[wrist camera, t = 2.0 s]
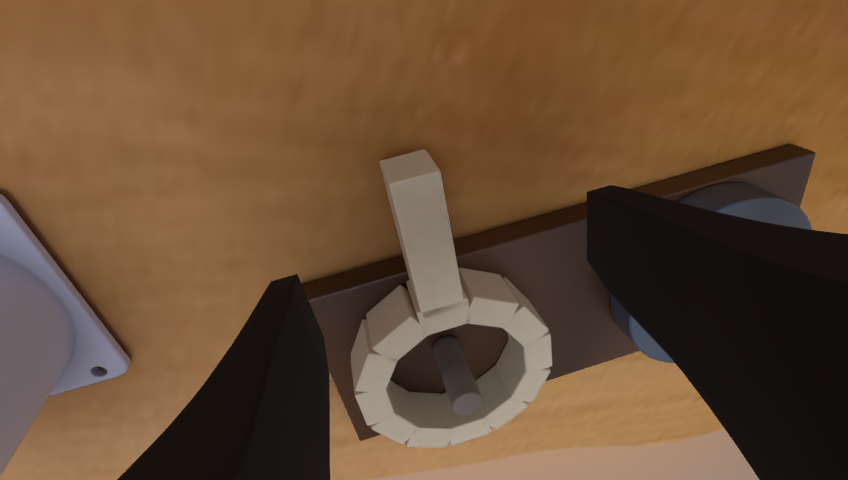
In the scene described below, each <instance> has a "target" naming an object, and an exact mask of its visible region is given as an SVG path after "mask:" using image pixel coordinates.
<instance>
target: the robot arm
mask: <svg viewBox="0 0 848 480" xmlns="http://www.w3.org/2000/svg"><path fill="white" fill-rule="evenodd" d="M587 261H588V262H589V264H590V265H591V267H592V268H593V270H594V272H595V273H596V275H597V276H598V277H599V279H600V280H601V282H602V283H603V284H604V286H605V287H606V289H607V290H608V291H609V292H610V293H611V294H612V296H613V297H614V298H615V299H616V300H617V301H618V302H619V303H620V304H621V305H622V306H623V308H624V309H625V310H626V311H627V312H628V313H629V314H630V315H631V316H632V317H633V318H634V319H635V320H636V321H637V322H638V324H639V325H640V326H641V327H642V328H643V329H644V330H645V331H646V332H647V333H648V334H649V335H650V336H651V337H652V338H653V339H654V341H655V342H656V343H657V344H658V345H659V346H660V347H661V348H662V349H663V350H664V351H665V352H666V353H667V354H668V355H669V357H670V358H671V359H672V360H673V361H674V362H675V363H676V365H677V366H678V367H679V368H680V369H681V370H682V372H683V373H684V374H685V376H686V377H687V378H688V380H689V381H690V382H691V383H692V385H693V386H694V387H695V389H696V390H697V391H698V393H699V394H700V395H701V397H702V398H703V399H704V401H705V402H706V403H707V405H708V406H709V407H710V409H711V410H712V411H713V413H714V414H715V416H716V417H717V418H718V420H719V421H720V423H721V424H722V425H723V427H724V428H725V430H726V431H727V432H728V434H729V435H730V437H731V438H732V439H733V441H734V442H735V444H736V445H737V446H738V448H739V449H740V451H741V453H742V454H743V455H744V457H745V458H746V460H747V461H748V463H749V464H750V466H751V467H752V469H753V470H754V472H755V473H756V475H757V476H758V478H759V479H760V480H848V234H839V233H831V232H823V231H815V230H808V229H802V228H796V227H789V226H783V225H777V224H771V223H766V222H761V221H755V220H751V219H746V218H742V217H737V216H732V215H728V214H723V213H719V212H715V211H711V210H707V209H703V208H699V207H695V206H691V205H687V204H684V203H680V202H676V201H673V200H669V199H665V198H661V197H658V196H654V195H650V194H647V193H643V192H639V191H635V190H631V189H627V188H622V187H617V186H606V187H603V188H599V189H596V190H592V191H589V192H587ZM129 365H130V359H129V357H128V356H127V354H126V353H125V352H124V351H123V349H122V348H121V347H120V345H119V344H118V343H117V341H116V340H115V339H114V338H113V336H112V335H111V334H110V332H109V331H108V330H107V328H106V327H105V326H104V325H103V323H102V322H101V321H100V319H99V318H98V317H97V315H96V314H95V313H94V312H93V310H92V309H91V308H90V306H89V305H88V304H87V302H86V301H85V300H84V299H83V297H82V296H81V295H80V293H79V292H78V291H77V289H76V288H75V287H74V286H73V284H72V283H71V282H70V280H69V279H68V278H67V276H66V275H65V274H64V273H63V271H62V270H61V269H60V267H59V266H58V265H57V263H56V262H55V261H54V260H53V258H52V257H51V256H50V254H49V253H48V252H47V250H46V249H45V248H44V247H43V245H42V244H41V243H40V241H39V240H38V239H37V237H36V236H35V235H34V234H33V232H32V231H31V230H30V228H29V227H28V226H27V224H26V223H25V222H24V221H23V219H22V218H21V217H20V215H19V214H18V213H17V211H16V210H15V209H14V208H13V206H12V205H11V204H10V202H9V201H8V200H7V199H6V198H5V197H4V196H3V195H2V194H0V476H1V475H2V473H3V471H4V470H5V468H6V466H7V465H8V463H9V461H10V460H11V458H12V456H13V455H14V453H15V451H16V450H17V448H18V446H19V445H20V443H21V441H22V440H23V438H24V436H25V435H26V433H27V431H28V430H29V428H30V426H31V425H32V423H33V421H34V420H35V418H36V416H37V415H38V413H39V411H40V410H41V408H42V406H43V405H44V403H45V401H46V400H47V398H48V397H50V396H53V395H56V394H60V393H63V392H66V391H70V390H73V389H77V388H80V387H83V386H87V385H90V384H93V383H97V382H100V381H104V380H107V379H110V378H114V377H117V376H120V375H122V374H125V372H126V371H127V370H128V368H129ZM97 367H103V368H105V369H99V368H97ZM117 480H330V403H329V369H328V361H327V354H326V347H325V340H324V336H323V334H322V331H321V329H320V327H319V324H318V322H317V320H316V317H315V315H314V312H313V310H312V308H311V305H310V303H309V301H308V298H307V296H306V294H305V291H304V289H303V286H302V284H301V282H300V279H299V277H298V275H297V274H296V275H292V276H289V277H285V278H282V279H278V280H275V281H271V283H270V284H269V286H268V287H267V289H266V291H265V292H264V294H263V296H262V297H261V299H260V300H259V302H258V304H257V305H256V307H255V309H254V310H253V312H252V314H251V315H250V317H249V319H248V320H247V322H246V324H245V325H244V327H243V328H242V330H241V332H240V333H239V335H238V336H237V338H236V339H235V341H234V343H233V344H232V346H231V347H230V348H229V350H228V351H227V353H226V354H225V355H224V357H223V358H222V360H221V361H220V363H219V364H218V365H217V367H216V368H215V370H214V371H213V372H212V374H211V375H210V377H209V378H208V379H207V381H206V382H205V383H204V385H203V386H202V387H201V389H200V390H199V391H198V392H197V394H196V395H195V396H194V397H193V399H192V400H191V401H190V402H189V403H188V405H187V406H186V407H185V408H184V409H183V410H182V412H181V413H180V414H179V415H178V416H177V417H176V419H175V420H174V421H173V422H172V423H171V424H170V426H169V427H168V428H167V429H166V430H165V431H164V432H163V433H162V434H161V435H160V436H159V437H158V438H157V439H156V440H155V441H154V442H153V444H152V445H151V446H150V447H149V448H148V449H147V450H146V451H145V452H144V453H143V454H142V455H141V456H140V457H139V458H138V459H137V460H136V461H135V462H134V463H133V464H132V465H131V466H130V467H129V468H128V469H127V470H126V472H125V473H123V474H122V475H121V476H120V477H119V478H118V479H117Z"/></svg>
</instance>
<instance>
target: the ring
mask: <svg viewBox="0 0 848 480" xmlns="http://www.w3.org/2000/svg"><path fill="white" fill-rule="evenodd" d="M379 164H380V168H381V172H382V176H383V180H384V183H385V187H386V191H387V195H388V199H389V203H390V207H391V210H392V214H393V218H394V222H395V226H396V230H397V234H398V238H399V241H400V245H401V249H402V253H403V257H404V261H405V265H406V268H407V272H408V276H409V281H407V282H406V284H407V288H408V290H407V289H406V288H404V287H403V286H402V285H399V286H398V287H397V288H395V289H394V290H393V291H392V292H391V293H390V294H389V295H387V296H386V297H385V298H384V299H383V300H382V301H380V302H379V303H378V304H377V305H376V306H375V307H374V308H372V309H371V310H370V311H369V312H368V313H367V314H366V319H367V320H366V319H363V320H362V322H361V325H360V328H359V331H358V334H357V337H356V339H355V342H354V345H353V348H352V351H351V368H352V376H353V384H354V393H355V397H356V400H357V402H358V405H359V407H360V410H361V412H362V414H363V417H364V419H365V422H366V424H367V425H368V426H369V425H371V429H372V430H374V431H376V432H378V433H380V434H382V435H383V436H385V437H387V438H389V439H391V440H393V441H395V442H397V443H399V444H403V443H404V442H405V443H406V446H407V447H446V446H447V444H448V442H449V441H450V444H451V445H452V446H453V445H456V444H459V443H462V442H466V441H469V440H472V439H475V438H478V437H481V436H484V435H487V434H490V433H491V428H490V426H491V427H492V428H494V429H495V430H497V429H499V428H500V427H501V426H503V425H504V424H505V423H507V422H508V421H509V420H511V419H512V418H513V417H515V416H516V415H517V414H519V413H520V412H521V411H523V410H524V409H525V408H527V407H528V403H527V402H532V401H533V400H534V399H535V397H536V395H537V394H538V392H539V390H540V389H541V387H542V385H543V384H544V382H545V380H546V379H547V377H548V375H549V373H550V369H549V367H551V366H552V350H551V334H550V333H549V329H548V327H547V326H546V324H545V323H544V321H543V320H542V319H541V317H540V316H539V314H538V313H537V311H536V310H535V308H534V307H533V305H532V304H531V303H530V301H529V300H528V299H527V298H526V297H525V296H524V295H523V294H522V293H521V292H520V291H519V290H518V289H517V288H516V287H515V286H514V285H513V284H512V283H511V282H510V281H509V280H508V279H507V278H506V277H503V278H502V277H501V276H500V275H499V274H494V273H488V272H483V271H477V270H471V269H465V268H458V265H457V259H456V254H455V248H454V243H453V237H452V232H451V226H450V221H449V215H448V210H447V204H446V199H445V194H444V188H443V183H442V177H441V172H440V170H439V168H438V167H437V166H436V164H435V163H434V161H433V160H432V158H431V157H430V155H429V154H428V152H427V151H426V150H425V149H423V150H419V151H415V152H411V153H408V154H404V155H400V156H396V157H393V158H389V159H385V160H381V161H379ZM467 323H468V324H476V325H484V326H492V327H500V328H503V329H504V330H505V331H506V332H508V342H507V344H506V346H505V348H504V350H503V351H502V353H501V355H500V357H499V359H498V361H497V363H496V365H495V366H493V367H492V368H491V369H490V370H488V371H487V372H486V373H484V374H483V375H482V376H481V377H479V378H478V379H477V380H475V382H476V384H477V386H478V389H479V391H480V394H481V396H482V404H481V406H480V408H479V409H478V410H476V411H475V412H473V413H471V414H468V415H459V414H457V413H455V412H454V411H453V409H452V406H451V403H450V400H449V398H448V395H447V392H444V393H441V394H438V393H423V392H409V391H407V390H405V389H404V388H402V387H401V386H399V385H397V384H396V383H394V382H393V381H391V380H390V378H391V376H392V373H393V371H394V368H395V366H396V363H397V361H398V360H399V359H400V358H401V357H403V356H404V355H405V354H406V353H407V352H409V351H410V350H411V349H412V348H413V347H415V346H416V345H417V344H418V343H419V342H421V341H422V340H423V339H424V338H425V337H427V336H428V335H431V334H434V333H438V332H441V331H444V330H447V329H451V328H454V327H457V326H460V325H464V324H467Z"/></svg>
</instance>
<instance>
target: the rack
mask: <svg viewBox="0 0 848 480" xmlns="http://www.w3.org/2000/svg"><path fill="white" fill-rule="evenodd" d="M814 157H815V152H813V151H810V150H807V149H805V148H802V147H799V146H796V145H793V144H789V145H785V146H782V147H778V148H775V149H771V150H768V151H764V152H761V153H757V154H754V155H750V156H747V157H743V158H740V159H737V160H733V161H730V162H726V163H723V164H719V165H716V166H712V167H709V168H705V169H702V170H698V171H695V172H691V173H688V174H684V175H681V176H677V177H674V178H671V179H667V180H664V181H660V182H657V183H653V184H650V185H646V186H643V187H639V188H636V189H632V190H635V191H639V192H643V193H647V194H650V195H654V196H658V197H661V198H665V199H669V200H673V201H676V202H680V203H684V204H687V205H691V206H695V207H699V208H703V209H707V210H711V211H715V212H719V213H723V214H728V215H732V216H737V217H742V218H746V219H751V220H755V221H761V222H766V223H771V224H777V225H783V226H789V227H796V228H802V229H808V230H812V228H811V224H810V222H809V220H808V218H807V216H806V214H805V213H804V212H803V211H802V210H801V208H800V205H801V201H802V198H803V194H804V191H805V188H806V184H807V181H808V177H809V174H810V171H811V167H812V164H813V160H814ZM453 243H454V248H455V254H456V259H457V265H458V268H465V269H471V270H477V271H483V272H488V273H494V274H499V275H500V276H501V277H502V278H503V277H506V278H507V279H508V280H509V281H510V282H511V283H512V284H513V285H514V286H515V287H516V288H517V289H518V290H519V291H520V292H521V293H522V294H523V295H524V296H525V297H526V298H527V299H528V300H529V301H530V303H531V304H532V305H533V307H534V308H535V310H536V311H537V313H538V314H539V316H540V317H541V319H542V320H543V321H544V323H545V324H546V326H547V327H548V329H549V333H550V334H551V350H552V366H551V367H549V369H550V373H549V375H548V377H547V379H546V380H545V381H548V380H551V379H554V378H557V377H560V376H563V375H566V374H569V373H572V372H575V371H578V370H581V369H585V368H588V367H591V366H594V365H597V364H600V363H603V362H606V361H609V360H612V359H615V358H618V357H622V356H625V355H628V354H631V353H634V352H637V351H641V352H642V353H643V354H645V355H647V356H648V357H650V358H653V359H655V360H658V361H662V362H668V363H675V362H674V361H673V360H672V359H671V358H670V357H669V355H668V354H667V353H666V352H665V351H664V350H663V349H662V348H661V347H660V346H659V345H658V344H657V343H656V342H655V341H654V339H653V338H652V337H651V336H650V335H649V334H648V333H647V332H646V331H645V330H644V329H643V328H642V327H641V326H640V325H639V324H638V322H637V321H636V320H635V319H634V318H633V317H632V316H631V315H630V314H629V313H628V312H627V311H626V310H625V309H624V308H623V306H622V305H621V304H620V303H619V302H618V301H617V300H616V299H615V298H614V297H613V296H612V294H611V293H610V292H609V291H608V290H607V289H606V287H605V286H604V284H603V283H602V282H601V280H600V279H599V277H598V276H597V275H596V273H595V272H594V270H593V268H592V267H591V265H590V264H589V262H588V261H587V203H584V204H580V205H577V206H573V207H570V208H566V209H563V210H559V211H556V212H552V213H549V214H545V215H542V216H539V217H535V218H532V219H528V220H525V221H521V222H518V223H514V224H511V225H507V226H504V227H500V228H497V229H493V230H490V231H486V232H483V233H479V234H476V235H473V236H469V237H466V238H462V239H459V240H455V241H453ZM407 281H409V276H408V272H407V268H406V265H405V261H404V257H403V256H400V257H396V258H393V259H389V260H386V261H382V262H379V263H375V264H372V265H368V266H365V267H361V268H358V269H354V270H351V271H347V272H344V273H341V274H337V275H334V276H330V277H327V278H323V279H320V280H316V281H313V282H309V283H306V284H302V286H303V289H304V291H305V294H306V296H307V298H308V301H309V303H310V305H311V308H312V310H313V312H314V315H315V317H316V320H317V322H318V324H319V327H320V329H321V331H322V334H323V336H324V340H325V347H326V354H327V361H328V369H329V371H330V374H331V376H332V378H333V380H334V383H335V385H336V387H337V389H338V392H339V394H340V396H341V399H342V401H343V403H344V405H345V408H346V410H347V412H348V415H349V417H350V419H351V421H352V424H353V426H354V428H355V431H356V433H357V435H358V437H359V440H360V441H362V440H365V439H369V438H372V437H375V436H378V435H381V434H380V433H378V432H376V431H374V430H372V429H371V425H369V426H368V425H367V424H366V422H365V419H364V417H363V414H362V412H361V410H360V407H359V405H358V402H357V400H356V397H355V393H354V384H353V376H352V368H351V351H352V348H353V345H354V342H355V339H356V337H357V334H358V331H359V328H360V325H361V322H362V320H363V319H366V314H367V313H368V312H369V311H370V310H371V309H372V308H374V307H375V306H376V305H377V304H378V303H379V302H380V301H382V300H383V299H384V298H385V297H386V296H387V295H389V294H390V293H391V292H392V291H393V290H394V289H395V288H397V287H398V286H399V285H402V286H403V287H404V288H406V289H407V290H408V288H407V284H406V282H407ZM366 320H367V319H366ZM507 342H508V332H506V331H505V330H504V329H503V328H500V327H492V326H484V325H476V324H468V323H467V324H464V325H460V326H457V327H454V328H451V329H447V330H444V331H441V332H438V333H434V334H431V335H428V336H427V337H425V338H424V339H423V340H422V341H421V342H419V343H418V344H417V345H416V346H415V347H413V348H412V349H411V350H410V351H409V352H407V353H406V354H405V355H404V356H403V357H401V358H400V359H399V360H398V361H397V363H396V366H395V368H394V371H393V373H392V376H391V378H390V380H391V381H393V382H394V383H396V384H397V385H399V386H401V387H402V388H404V389H405V390H407V391H409V392H423V393H438V394H441V393H444V392H447V395H448V398H449V400H450V403H451V406H452V409H453V411H454V412H455V413H457V414H459V415H468V414H471V413H473V412H475V411H476V410H478V409H479V408H480V406H481V404H482V396H481V394H480V391H479V389H478V386H477V384H476V382H475V380H477V379H478V378H479V377H481V376H482V375H483V374H484V373H486V372H487V371H488V370H490V369H491V368H492V367H493V366H495V365H496V363H497V361H498V359H499V357H500V355H501V353H502V351H503V350H504V348H505V346H506V344H507Z"/></svg>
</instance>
